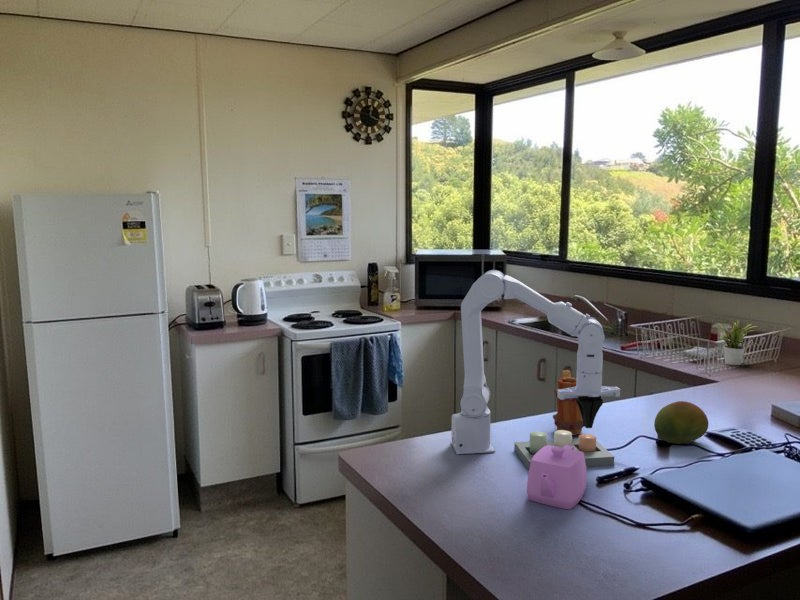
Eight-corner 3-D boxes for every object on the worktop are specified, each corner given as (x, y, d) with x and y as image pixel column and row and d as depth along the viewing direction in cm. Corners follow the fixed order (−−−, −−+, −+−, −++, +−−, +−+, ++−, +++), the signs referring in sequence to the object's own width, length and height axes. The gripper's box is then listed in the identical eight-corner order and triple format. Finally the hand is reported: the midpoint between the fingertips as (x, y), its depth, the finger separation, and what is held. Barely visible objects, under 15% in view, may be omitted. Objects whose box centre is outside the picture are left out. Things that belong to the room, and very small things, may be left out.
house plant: (766, 368, 227) (769, 323, 224) (727, 369, 227) (729, 324, 225) (745, 359, 241) (748, 316, 239) (708, 359, 241) (710, 317, 239)
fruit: (712, 440, 161) (714, 402, 159) (694, 455, 152) (697, 415, 150) (665, 430, 168) (667, 393, 167) (646, 443, 159) (647, 405, 158)
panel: (529, 470, 145) (529, 461, 145) (514, 450, 157) (514, 442, 156) (614, 464, 147) (614, 456, 147) (593, 445, 159) (593, 437, 158)
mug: (588, 439, 163) (589, 381, 161) (555, 438, 164) (555, 381, 162) (579, 420, 177) (580, 367, 175) (549, 420, 178) (550, 367, 176)
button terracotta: (582, 458, 150) (582, 440, 150) (575, 451, 154) (576, 434, 153) (598, 457, 151) (599, 439, 150) (591, 450, 155) (592, 433, 154)
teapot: (568, 520, 122) (569, 469, 120) (515, 507, 127) (516, 458, 126) (594, 485, 137) (595, 439, 135) (546, 474, 143) (547, 430, 141)
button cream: (557, 454, 149) (557, 436, 149) (551, 447, 153) (552, 430, 153) (574, 453, 150) (574, 435, 149) (567, 446, 154) (568, 429, 153)
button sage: (532, 455, 149) (532, 438, 148) (527, 449, 153) (527, 431, 152) (549, 454, 149) (549, 437, 149) (543, 448, 153) (543, 431, 152)
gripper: (565, 376, 145) (564, 434, 147) (626, 374, 146) (624, 430, 148) (554, 368, 152) (553, 423, 154) (613, 366, 153) (611, 420, 155)
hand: (587, 426), depth 151 cm, fingers closed
